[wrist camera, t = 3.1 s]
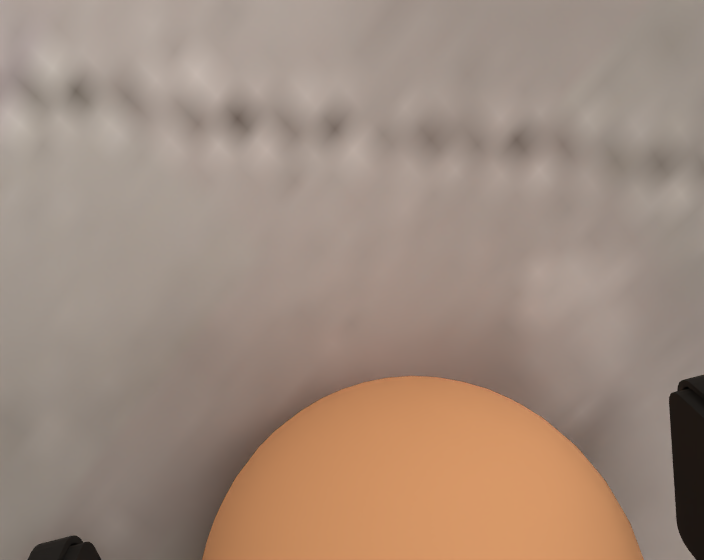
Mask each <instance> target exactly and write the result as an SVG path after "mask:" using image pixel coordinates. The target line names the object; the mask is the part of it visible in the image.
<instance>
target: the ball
mask: <svg viewBox="0 0 704 560" xmlns="http://www.w3.org/2000/svg"><path fill="white" fill-rule="evenodd" d="M202 560H644V559H643V556H642V554H641V551H640V548H639V546H638V543H637V540H636V538H635V535H634V532H633V530H632V527H631V525H630V522H629V520H628V519H627V517H626V515H625V513H624V512H623V510H622V508H621V506H620V505H619V503H618V501H617V500H616V498H615V496H614V495H613V493H612V491H611V489H610V488H609V486H608V484H607V483H606V481H605V480H604V479H603V477H602V476H601V475H600V474H599V473H598V471H597V470H596V469H595V468H594V467H593V465H592V464H591V463H590V462H589V461H588V459H587V458H586V457H585V456H584V455H583V454H582V452H581V451H580V450H579V449H578V448H577V447H576V446H575V445H574V444H573V443H572V442H571V441H570V440H568V439H567V438H566V437H565V436H564V435H562V434H561V433H560V432H559V431H558V430H557V429H555V428H554V427H553V426H552V425H551V424H549V423H548V422H547V421H546V420H545V419H544V418H542V417H540V416H539V415H537V414H536V413H534V412H532V411H531V410H529V409H528V408H526V407H524V406H523V405H521V404H519V403H517V402H515V401H513V400H511V399H510V398H507V397H505V396H503V395H500V394H498V393H496V392H494V391H491V390H489V389H486V388H483V387H479V386H476V385H472V384H469V383H466V382H461V381H456V380H450V379H444V378H438V377H426V376H403V377H390V378H383V379H378V380H373V381H368V382H363V383H360V384H357V385H354V386H351V387H347V388H344V389H341V390H339V391H337V392H335V393H333V394H330V395H328V396H326V397H324V398H321V399H320V400H318V401H316V402H315V403H313V404H311V405H310V406H308V407H306V408H305V409H303V410H301V411H300V412H299V413H297V414H296V415H295V416H293V417H292V418H291V419H289V420H288V421H287V422H286V423H284V424H283V425H282V426H280V427H279V428H278V429H277V430H275V431H274V432H273V433H272V434H271V435H270V436H269V437H268V438H267V439H266V440H265V441H264V442H263V443H262V444H261V445H260V446H259V448H258V449H257V450H256V451H255V453H254V454H253V455H252V457H251V458H250V459H249V461H248V462H247V463H246V465H245V466H244V467H243V469H242V470H241V471H240V473H239V474H238V475H237V477H236V478H235V480H234V481H233V483H232V485H231V487H230V489H229V491H228V492H227V494H226V496H225V498H224V500H223V502H222V504H221V506H220V508H219V510H218V512H217V515H216V517H215V519H214V522H213V525H212V528H211V531H210V533H209V536H208V539H207V543H206V546H205V550H204V554H203V557H202Z"/></svg>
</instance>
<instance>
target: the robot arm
mask: <svg viewBox="0 0 704 560" xmlns="http://www.w3.org/2000/svg"><path fill="white" fill-rule="evenodd" d="M669 407H670V423H671V439H672V454H673V470H674V486H675V502H676V518H677V526H678V530H679V533H680V535H681V538H682V540H683V542H684V544H685V545H686V547H687V548H688V550H689V551H690V552H691V553H692V555H693V556H694V557H695V559H696V560H704V375H701V376H697V377H693V378H689V379H685V380H682V381H681V382H679V385H678V391H677V392H673V393H671V394H670V397H669ZM28 560H101V559H100V557H99V555H98V553H97V551H96V549H95V547H94V546H93V544H92V543H90V542H84V543H83V541H82V540H81V539H80V538H79V537H77V536H69V537H65V538H62V539H58V540H54V541H50V542H46V543H42V544H39V545H37V546H36V547H35V548H34V549H33V551H32V552H31V554H30V556H29V558H28Z"/></svg>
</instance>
